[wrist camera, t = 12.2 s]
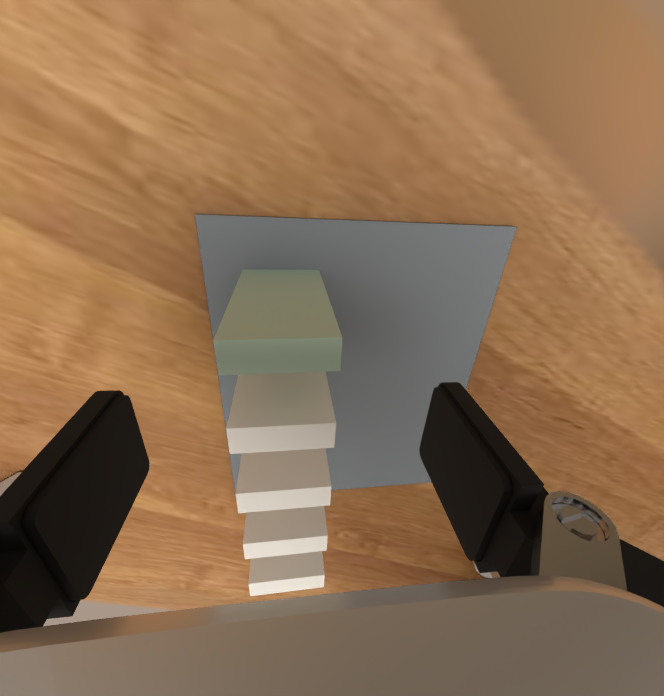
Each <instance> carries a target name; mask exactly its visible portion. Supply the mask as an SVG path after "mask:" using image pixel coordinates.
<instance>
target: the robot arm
mask: <svg viewBox="0 0 664 696" xmlns="http://www.w3.org/2000/svg"><path fill="white" fill-rule="evenodd" d="M419 452H420V457H421V460H422V462H423V464H424V466H425V468H426V471H427V473H428V475H429V477H430V479H431V481H432V483H433V486H434V488H435V490H436V492H437V494H438V496H439V498H440V501H441V503H442V505H443V507H444V509H445V511H446V514H447V516H448V518H449V520H450V522H451V524H452V526H453V529H454V531H455V533H456V535H457V537H458V539H459V541H460V544H461V546H462V548H463V550H464V552H465V554H466V556H467V558H468V559H469V560H471V561H472V562H473V565H474V567H475V569H476V571H477V572H478V573H479V574H480V575H482V576H484V577H488V578H487V579H474V580H462V581H451V582H441V583H431V584H421V585H411V586H401V587H392V588H382V589H372V590H362V591H352V592H343V593H333V594H324V595H314V596H305V597H296V598H286V599H277V600H268V601H258V602H249V603H240V604H231V605H221V606H212V607H203V608H195V609H186V610H177V611H168V612H160V613H151V614H141V615H132V616H123V617H114V618H106V619H97V620H90V621H82V622H74V623H67V624H59V625H51V626H43V625H44V623H45V621H46V620H47V619H49V618H60V617H69V616H73V614H74V612H75V610H76V608H77V606H78V604H79V602H80V600H81V599H85V598H86V597H87V596H88V595H89V593H90V591H91V590H92V588H93V586H94V583H95V581H96V579H97V577H98V575H99V573H100V571H101V569H102V567H103V565H104V563H105V561H106V559H107V557H108V555H109V552H110V550H111V548H112V546H113V544H114V542H115V540H116V538H117V536H118V534H119V532H120V530H121V528H122V526H123V523H124V521H125V519H126V517H127V515H128V513H129V511H130V509H131V507H132V505H133V503H134V501H135V499H136V497H137V495H138V492H139V490H140V488H141V486H142V484H143V482H144V480H145V478H146V476H147V474H148V471H149V459H148V456H147V453H146V449H145V446H144V443H143V439H142V436H141V433H140V429H139V426H138V423H137V420H136V416H135V413H134V410H133V406H132V403H131V400H130V398H129V396H127V395H124V394H123V393H122V392H121V391H97V392H95V393H94V394H93V395H92V396H91V397H90V398H89V399H88V400H87V401H86V403H85V404H84V405H83V406H82V407H81V408H80V409H79V410H78V411H77V412H76V414H75V415H74V416H73V417H72V418H71V419H70V420H69V421H68V422H67V423H66V424H65V426H64V427H63V428H62V429H61V430H60V431H59V432H58V433H57V434H56V435H55V437H54V438H53V439H52V440H51V441H50V442H49V443H48V444H47V445H46V446H45V447H44V449H43V450H42V451H41V452H40V453H39V454H38V455H37V456H36V457H35V458H34V460H33V461H32V462H31V463H30V464H29V465H28V466H27V467H26V468H25V469H24V470H23V472H22V473H21V474H20V475H19V476H18V477H17V478H16V479H15V480H14V481H13V483H12V484H11V485H10V486H9V487H8V488H7V489H6V490H5V491H4V492H3V493H2V495H1V496H0V696H664V561H662V560H660V559H658V558H656V557H654V556H652V555H650V554H648V553H646V552H644V551H642V550H640V549H638V548H637V547H635V546H633V545H631V544H629V543H627V542H625V541H623V540H621V539H619V535H618V532H617V529H616V527H615V525H614V524H613V522H612V521H611V520H610V518H609V517H608V516H607V515H606V514H605V513H604V512H603V511H602V510H601V509H599V508H598V507H597V506H595V505H594V504H592V503H591V502H590V501H588V500H586V499H584V498H582V497H580V496H578V495H575V494H572V493H569V492H561V491H557V492H551V493H550V494H549V493H548V492H547V491H546V490H545V488H544V487H543V485H544V484H543V483H542V481H541V480H540V479H539V478H538V476H537V475H536V474H535V473H534V472H533V470H532V469H531V468H530V467H529V466H528V464H527V463H526V462H525V461H524V460H523V458H522V457H521V456H520V455H519V454H518V452H517V451H516V450H515V449H514V448H513V446H512V445H511V444H510V443H509V441H508V440H507V439H506V438H505V437H504V435H503V434H502V433H501V432H500V431H499V429H498V428H497V427H496V426H495V425H494V423H493V422H492V421H491V420H490V419H489V417H488V416H487V415H486V414H485V413H484V411H483V410H482V409H481V408H480V406H479V405H478V404H477V403H476V402H475V400H474V399H473V398H472V397H471V396H470V394H469V393H468V392H467V391H466V390H465V388H464V387H463V386H462V385H461V384H460V383H459V382H442V383H440V384H439V385H438V387H435V388H434V390H433V393H432V397H431V401H430V406H429V410H428V414H427V418H426V422H425V426H424V430H423V435H422V439H421V443H420V448H419Z"/></svg>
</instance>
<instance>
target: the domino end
mask: <svg viewBox="0 0 664 696" xmlns="http://www.w3.org/2000/svg"><path fill="white" fill-rule="evenodd" d="M213 343H214V349H215V355H216V362H217V368H218V375H244V374H272V373H299V372H326V371H340V368H341V353H342V335H341V332H340V329H339V326H338V323H337V320H336V317H335V315H334V312H333V309H332V306H331V303H330V300H329V297H328V294H327V292H326V289H325V286H324V283H323V280H322V277H321V274H320V271H319V270H266V269H243V270H242V272H241V275H240V277H239V279H238V282H237V284H236V287H235V289H234V292H233V294H232V296H231V299H230V301H229V304H228V306H227V308H226V311H225V313H224V316H223V318H222V320H221V323H220V325H219V328H218V330H217V332H216V335H215V337H214V340H213Z"/></svg>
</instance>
